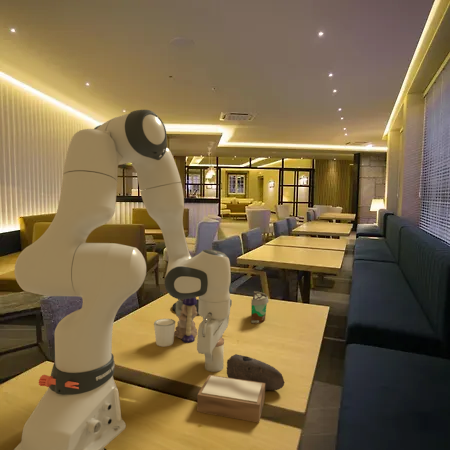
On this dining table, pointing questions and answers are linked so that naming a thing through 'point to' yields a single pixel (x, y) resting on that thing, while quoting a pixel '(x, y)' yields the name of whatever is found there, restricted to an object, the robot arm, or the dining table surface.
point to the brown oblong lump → (254, 371)
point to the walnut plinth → (232, 398)
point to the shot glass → (164, 332)
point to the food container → (258, 307)
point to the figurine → (184, 319)
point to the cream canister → (217, 357)
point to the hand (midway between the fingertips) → (213, 355)
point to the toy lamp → (189, 320)
